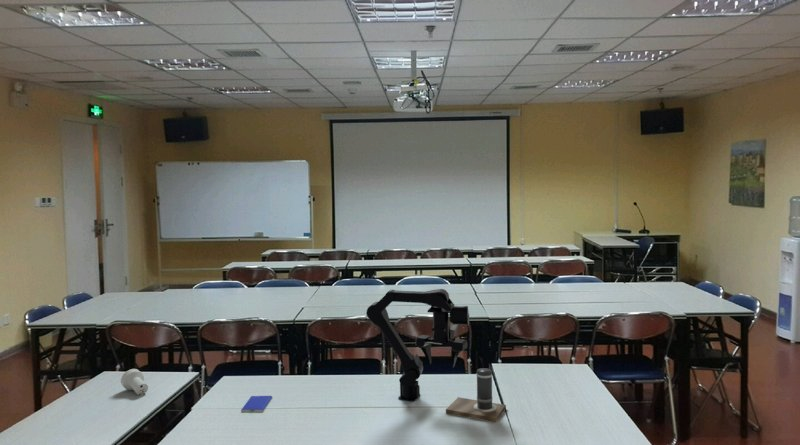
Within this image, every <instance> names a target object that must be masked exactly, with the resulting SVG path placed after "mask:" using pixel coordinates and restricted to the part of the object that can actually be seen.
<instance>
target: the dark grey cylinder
mask: <svg viewBox="0 0 800 445" xmlns="http://www.w3.org/2000/svg"><path fill="white" fill-rule="evenodd" d="M476 400H477V407H478V408H479V409H482V410H489V409H491V408H492V403H493V371H492V369H490V368H486V367H485V368H484V367H483V368H477V370H476Z"/></svg>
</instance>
